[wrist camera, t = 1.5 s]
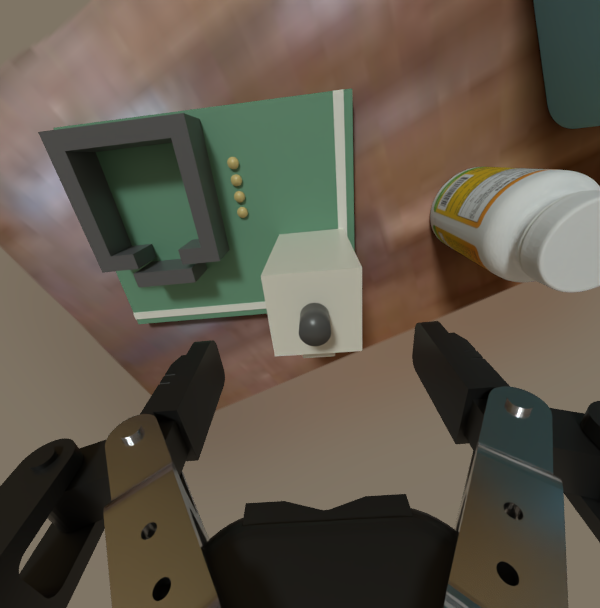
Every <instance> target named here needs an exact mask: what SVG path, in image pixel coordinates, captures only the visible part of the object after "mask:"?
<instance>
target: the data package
mask: <svg viewBox="0 0 600 608" xmlns="http://www.w3.org/2000/svg"><path fill="white" fill-rule="evenodd" d="M533 2H534V10H535V17H536V25H537V32H538V39H539V47H540V54H541V61H542V69H543V76H544V84H545V91H546V98H547V105H548V109H549V112H550V114H551V116H552V118H553V119H554V120H555V122H556V123H558V124H559V125H560V126H562V127H565V128H569V129H576V128H585V127H594V126H600V0H533Z"/></svg>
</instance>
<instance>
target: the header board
mask: <svg viewBox="0 0 600 608" xmlns="http://www.w3.org/2000/svg"><path fill="white" fill-rule="evenodd" d="M180 113H185V114H188V115H190V116H193V117H196V118H198V119H200V122H201V126H202V131H203V135H204V140H205V144H206V148H207V153H208V157H209V162H210V166H211V170H212V175H213V179H214V184H215V188H216V193H217V197H218V201H219V206H220V210H221V215H222V219H223V223H224V228H225V232H226V237H227V241H228V246H229V251H228V252H227V253H226V255H225V256H224V257H223V258H222V260H221V261H216V262H206V266H207V270H206V271H205V272H204V274H203V275H202V276H201V277H200V278H199V279H198V280H197V281H196V282H194V283H183V284H172V285H161V286H150V287H140V288H139V287H138V285H137V282H136V280H135V277H134V275H133V274H134V273H135V272H137V271H138V270H140V269H141V268H143V267H144V266H146V265H147V264H149V263H150V262H152V261H163V260H173V259H181V258H180V255H179V251H178V250H179V249H180V248H181V247H183V246H184V245H185V244H187V243H188V242H190V241H191V240H194V239H198V235H197V231H196V228H195V224H194V220H193V217H192V213H191V209H190V206H189V202H188V198H187V195H186V191H185V187H184V184H183V180H182V176H181V173H180V169H179V165H178V162H177V158H176V155H175V151H174V147H173V144H172V143H164V144H156V145H148V146H140V147H132V148H124V149H116V150H108V151H100V152H96V154H97V157H98V160H99V162H100V165H101V167H102V170H103V172H104V175H105V178H106V180H107V183H108V185H109V188H110V190H111V193H112V196H113V198H114V201H115V203H116V206H117V208H118V211H119V214H120V216H121V219H122V221H123V224H124V226H125V229H126V232H127V234H128V237H129V239H130V242H131V244H132V246H135V245H145V244H152V245H153V248H154V251H155V254H156V258H154V259H153V260H151V261H150V262H148V263H147V264H145V265H144V266H142V267H141V268H139V269H133V270H123V271H116V273H117V275H118V278H119V280H120V282H121V284H122V287H123V289H124V291H125V294H126V296H127V298H128V301H129V303H130V305H131V307H132V310H133V312H134V313H133V314H134V316H135V318H136V319H137V321H138V324H146V323H158V322H170V321H182V320H194V319H206V318H218V317H230V316H242V315H255V314H267V309H266V303H265V297H264V292H263V286H262V281H261V274H262V272H263V270H264V267H265V265H266V263H267V261H268V258H269V256H270V254H271V252H272V249H273V247H274V245H275V243H276V241H277V238H278V236H279V234H289V233H299V232H310V231H320V230H331V229H341V228H344V230H345V233H346V235H347V237H348V239H349V241H350V243H351V245H352V247H353V250H354V252H355V249H354V180H353V110H352V89H345V90H343V89H342V90H335V91H329V92H322V93H314V94H307V95H299V96H292V97H284V98H276V99H269V100H261V101H254V102H246V103H239V104H231V105H224V106H216V107H208V108H201V109H193V110H186V111H178V112H171V113H163V114H156V115H148V116H140V117H133V118H125V119H118V120H110V121H103V122H95V123H88V124H80V125H72V126H65V127H57V128H54V130H58V129H66V128H73V127H81V126H89V125H96V124H104V123H111V122H119V121H127V120H134V119H142V118H149V117H157V116H164V115H172V114H180ZM230 157H236V158H237V159H238V161H239V166H238V168H237V169H231V168H229V166H228V164H227V160H228V159H229V158H230ZM235 174H238V175H240V176H241V178H242V184H241V185H240V186H234V185H233V184H232V183H231V177H232V176H233V175H235ZM237 191H242V192H243V193H244V194H245V200H244V201H243V202H241V203H239V202H237V201H236V200H235V199H234V194H235V193H236V192H237ZM240 207H245V208H246V209H247V210H248V215H247V216H246V217H245V218H241V217H239V216H238V214H237V210H238V209H239V208H240Z"/></svg>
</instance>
